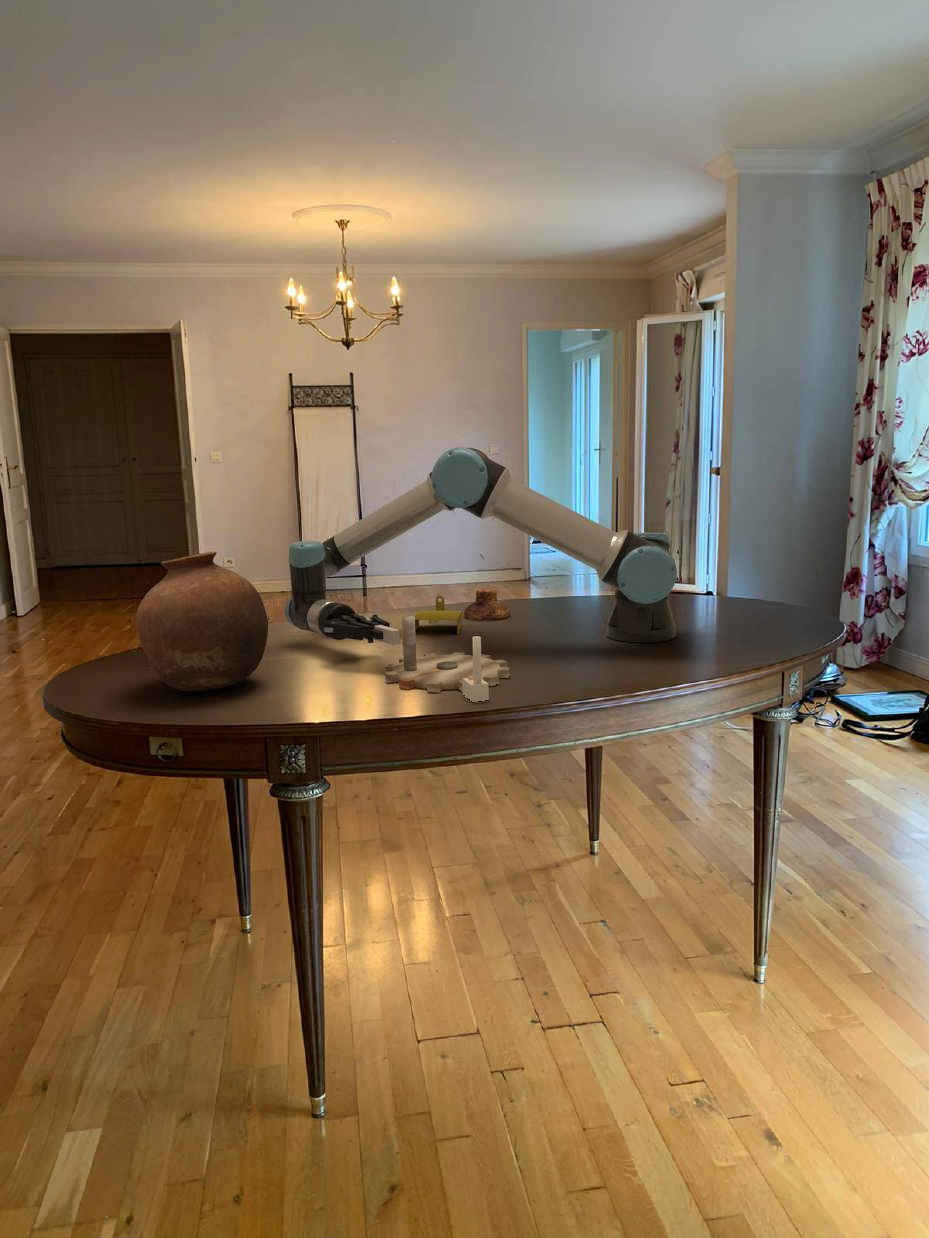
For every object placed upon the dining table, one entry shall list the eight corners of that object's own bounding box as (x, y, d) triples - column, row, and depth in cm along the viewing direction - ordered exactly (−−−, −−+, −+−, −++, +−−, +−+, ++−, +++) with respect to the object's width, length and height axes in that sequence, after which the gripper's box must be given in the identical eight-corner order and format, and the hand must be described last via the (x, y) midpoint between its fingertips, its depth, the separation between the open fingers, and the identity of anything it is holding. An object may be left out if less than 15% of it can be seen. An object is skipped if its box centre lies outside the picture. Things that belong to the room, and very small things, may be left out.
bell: (454, 617, 222) (453, 589, 221) (490, 611, 229) (490, 583, 228) (483, 624, 213) (482, 594, 212) (520, 617, 220) (520, 588, 219)
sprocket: (527, 665, 171) (527, 608, 169) (476, 697, 151) (475, 632, 149) (422, 655, 182) (421, 601, 179) (361, 684, 161) (358, 623, 159)
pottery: (277, 696, 155) (267, 556, 150) (138, 710, 149) (124, 564, 144) (267, 666, 177) (259, 542, 172) (146, 677, 170) (133, 549, 165)
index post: (462, 694, 153) (461, 633, 151) (478, 693, 154) (477, 632, 152) (472, 702, 149) (470, 639, 146) (488, 700, 150) (487, 637, 147)
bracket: (397, 607, 197) (407, 595, 212) (398, 641, 199) (409, 627, 213) (466, 607, 195) (471, 595, 210) (466, 641, 197) (472, 627, 212)
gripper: (360, 632, 189) (424, 651, 171) (306, 642, 181) (368, 662, 163) (358, 598, 187) (423, 613, 169) (304, 606, 179) (366, 623, 161)
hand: (396, 637), depth 166 cm, fingers closed
